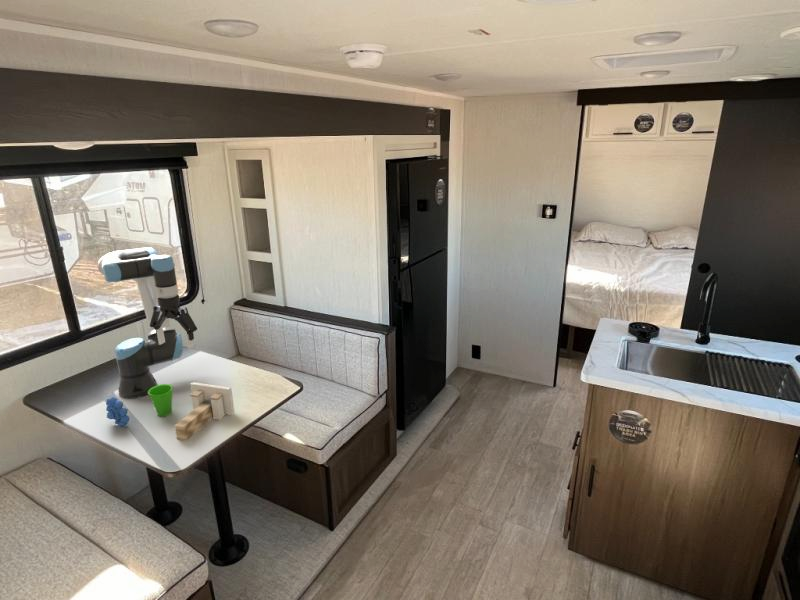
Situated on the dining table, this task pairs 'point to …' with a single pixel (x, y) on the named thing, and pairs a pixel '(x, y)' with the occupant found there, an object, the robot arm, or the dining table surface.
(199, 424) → the block
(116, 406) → the grapes
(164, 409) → the cup
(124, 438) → the dining table surface
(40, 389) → the dining table surface
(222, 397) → the headboard
